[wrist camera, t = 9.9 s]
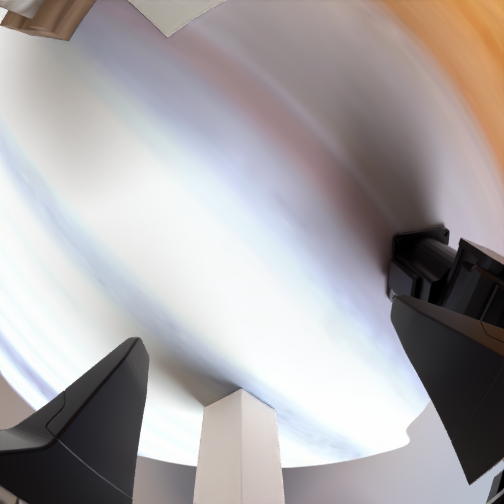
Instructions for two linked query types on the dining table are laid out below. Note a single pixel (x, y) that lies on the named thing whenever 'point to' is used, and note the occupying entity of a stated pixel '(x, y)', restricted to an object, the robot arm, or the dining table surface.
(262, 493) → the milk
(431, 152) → the dining table surface
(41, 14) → the white candle wooden holder
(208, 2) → the grey mat
